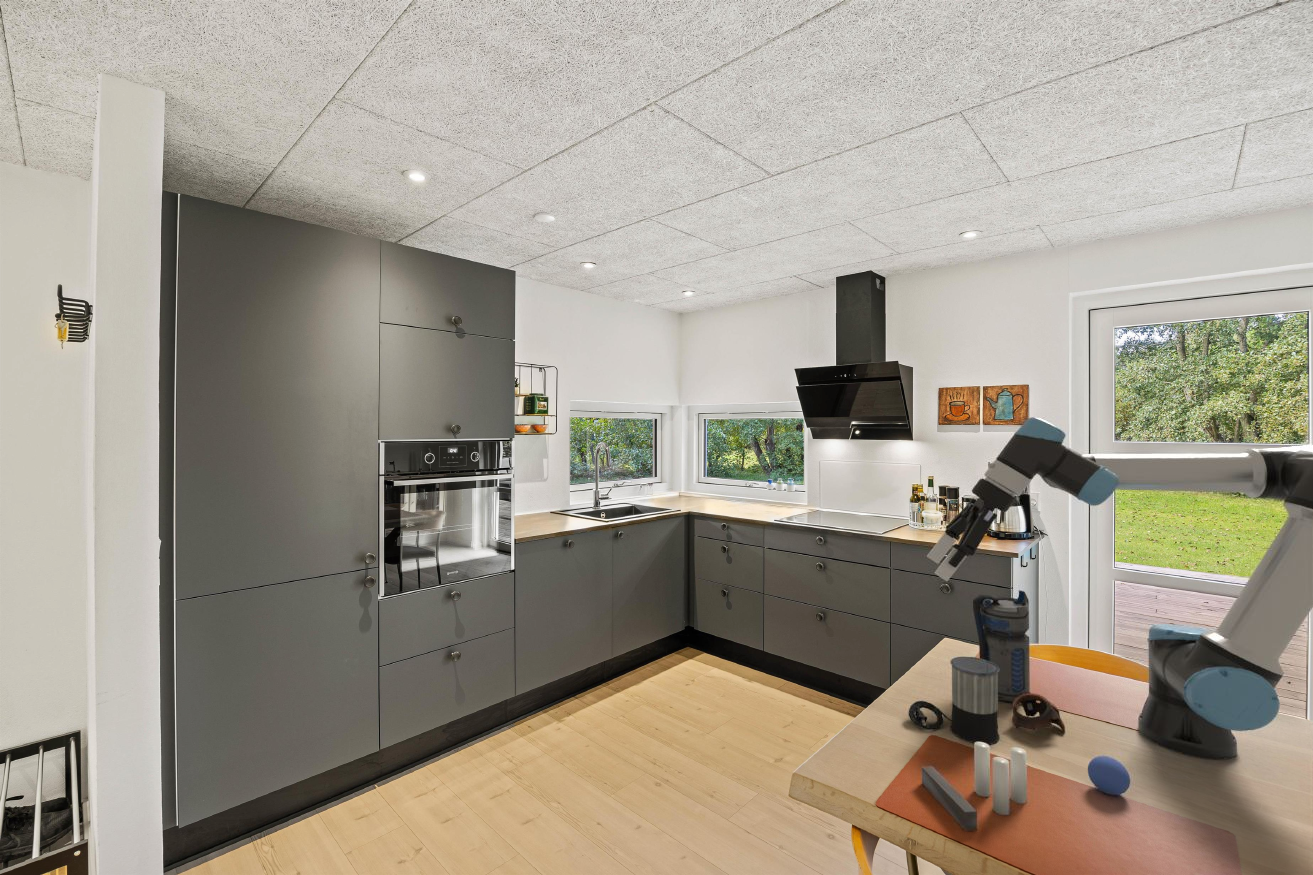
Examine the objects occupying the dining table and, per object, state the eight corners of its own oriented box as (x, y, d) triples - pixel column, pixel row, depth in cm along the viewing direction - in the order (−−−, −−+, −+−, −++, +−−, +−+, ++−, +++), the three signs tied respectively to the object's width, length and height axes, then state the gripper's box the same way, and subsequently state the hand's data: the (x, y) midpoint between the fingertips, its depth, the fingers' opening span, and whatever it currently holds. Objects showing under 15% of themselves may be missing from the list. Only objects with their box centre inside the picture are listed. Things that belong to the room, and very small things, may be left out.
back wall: (932, 782, 109) (932, 765, 109) (977, 829, 96) (977, 811, 96) (921, 783, 109) (921, 766, 109) (965, 830, 96) (965, 812, 96)
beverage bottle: (962, 687, 149) (962, 587, 148) (1013, 684, 150) (1013, 585, 149) (988, 705, 139) (987, 598, 138) (1042, 703, 140) (1042, 596, 139)
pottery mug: (1079, 742, 123) (1065, 712, 122) (1033, 758, 125) (1019, 729, 123) (1046, 701, 135) (1033, 673, 133) (1005, 717, 137) (991, 689, 135)
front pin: (1020, 794, 105) (1019, 746, 105) (1030, 802, 103) (1029, 753, 103) (1007, 795, 105) (1007, 747, 105) (1016, 803, 103) (1016, 754, 103)
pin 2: (1003, 805, 102) (1002, 756, 102) (1012, 814, 100) (1012, 764, 100) (989, 806, 102) (989, 757, 102) (999, 815, 100) (998, 765, 100)
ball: (1109, 780, 109) (1109, 748, 109) (1139, 801, 103) (1139, 766, 103) (1079, 783, 108) (1079, 750, 108) (1107, 803, 102) (1107, 769, 102)
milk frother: (1010, 743, 122) (1010, 671, 122) (940, 751, 120) (940, 677, 120) (964, 711, 136) (963, 646, 136) (900, 717, 134) (899, 651, 134)
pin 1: (984, 788, 107) (983, 741, 107) (993, 796, 105) (992, 748, 105) (971, 789, 107) (971, 742, 107) (980, 797, 105) (979, 749, 105)
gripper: (971, 469, 135) (914, 544, 140) (996, 484, 112) (926, 573, 116) (1002, 488, 133) (944, 563, 138) (1034, 507, 110) (962, 597, 115)
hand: (936, 568), depth 127 cm, fingers open, 13 cm apart
